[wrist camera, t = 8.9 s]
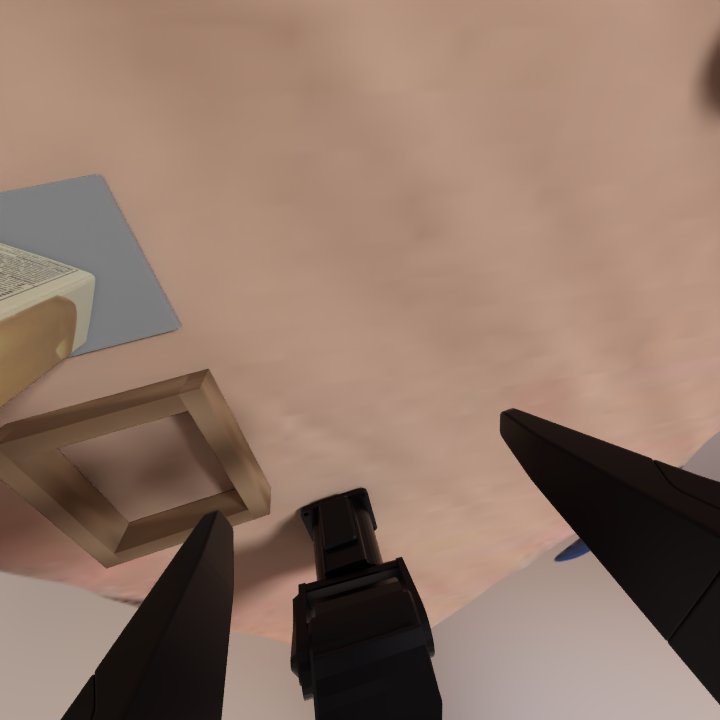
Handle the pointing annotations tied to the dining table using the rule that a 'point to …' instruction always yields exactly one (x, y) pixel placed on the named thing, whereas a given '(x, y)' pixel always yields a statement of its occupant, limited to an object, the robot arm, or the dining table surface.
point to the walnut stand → (89, 507)
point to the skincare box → (39, 316)
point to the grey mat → (91, 255)
